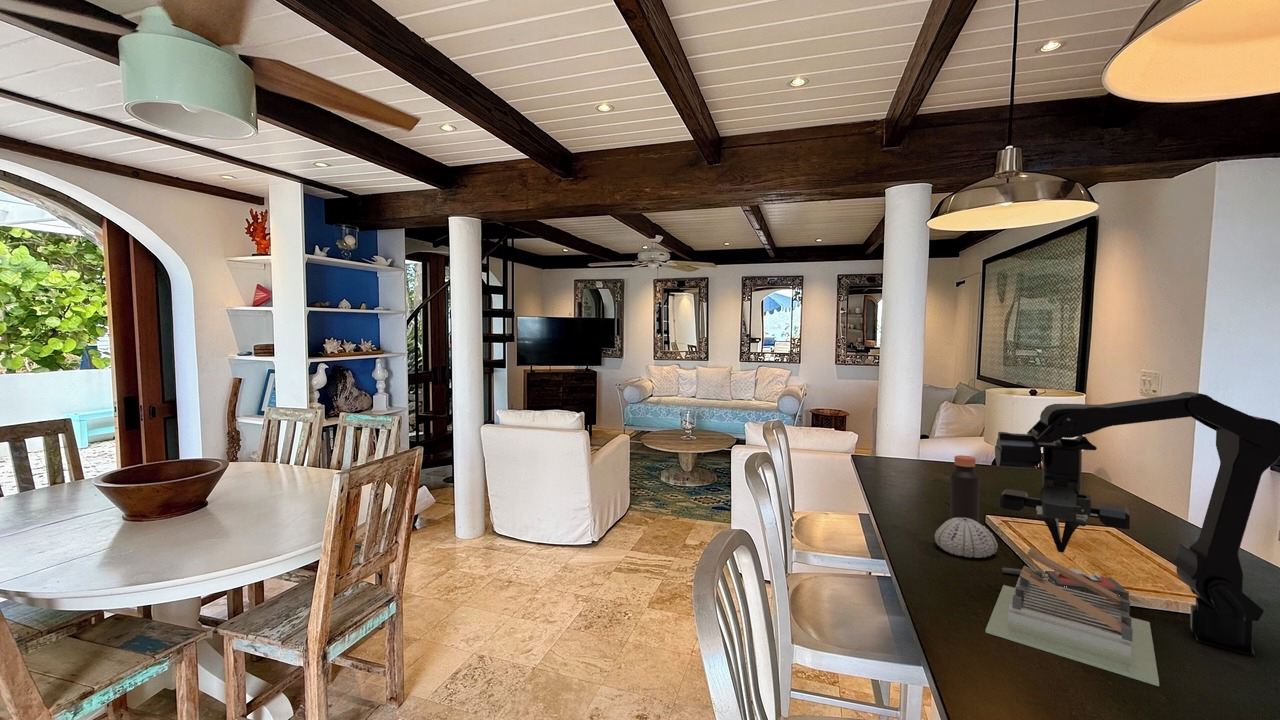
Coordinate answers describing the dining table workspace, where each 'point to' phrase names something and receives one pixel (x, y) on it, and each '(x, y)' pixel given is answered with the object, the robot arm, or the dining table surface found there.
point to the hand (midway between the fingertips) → (1060, 551)
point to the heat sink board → (1075, 629)
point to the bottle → (964, 489)
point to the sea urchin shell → (965, 538)
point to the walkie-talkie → (1064, 581)
